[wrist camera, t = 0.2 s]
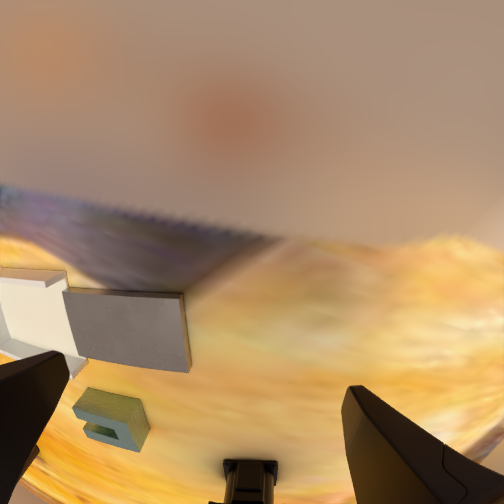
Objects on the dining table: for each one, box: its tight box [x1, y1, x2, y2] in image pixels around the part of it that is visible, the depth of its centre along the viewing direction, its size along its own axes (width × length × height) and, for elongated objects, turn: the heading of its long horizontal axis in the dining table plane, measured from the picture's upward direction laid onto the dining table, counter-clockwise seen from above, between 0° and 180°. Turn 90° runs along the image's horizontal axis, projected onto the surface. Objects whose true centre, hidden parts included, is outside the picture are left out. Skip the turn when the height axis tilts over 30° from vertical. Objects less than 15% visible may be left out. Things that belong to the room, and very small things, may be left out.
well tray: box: [0, 268, 88, 379], centre depth 22 cm, size 10×15×3 cm
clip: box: [72, 388, 150, 453], centre depth 24 cm, size 5×7×4 cm
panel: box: [62, 287, 192, 373], centre depth 22 cm, size 7×12×1 cm, turn 91°
